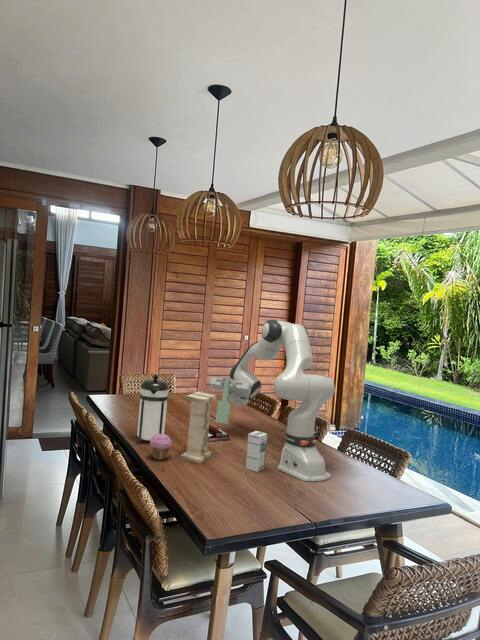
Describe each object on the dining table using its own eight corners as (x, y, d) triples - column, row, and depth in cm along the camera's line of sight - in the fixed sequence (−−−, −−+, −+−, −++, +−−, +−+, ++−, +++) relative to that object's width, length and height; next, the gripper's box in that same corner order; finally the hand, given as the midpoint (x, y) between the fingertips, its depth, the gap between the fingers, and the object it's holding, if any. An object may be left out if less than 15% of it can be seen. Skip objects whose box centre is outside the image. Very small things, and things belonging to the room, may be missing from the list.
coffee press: (175, 442, 220) (181, 376, 219) (146, 447, 208) (152, 378, 207) (152, 432, 232) (157, 370, 230) (123, 437, 220) (129, 371, 219)
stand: (193, 450, 210) (198, 391, 209) (212, 454, 207) (217, 394, 206) (179, 459, 198) (185, 396, 197) (199, 463, 195) (205, 399, 194)
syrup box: (257, 472, 191) (261, 436, 190) (245, 468, 194) (248, 432, 193) (264, 468, 196) (268, 433, 195) (252, 465, 199) (255, 430, 198)
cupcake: (160, 463, 190) (162, 438, 190) (143, 458, 195) (146, 433, 194) (174, 458, 198) (176, 434, 197) (158, 453, 202) (160, 429, 202)
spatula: (222, 377, 231) (221, 377, 230) (234, 379, 230) (233, 379, 228) (216, 421, 230) (215, 421, 228) (228, 423, 228) (227, 424, 226)
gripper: (215, 381, 244) (207, 370, 233) (254, 387, 238) (248, 376, 226) (212, 393, 242) (204, 382, 230) (251, 399, 235) (245, 389, 223)
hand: (226, 379), depth 228 cm, fingers closed on spatula, 2 cm apart
